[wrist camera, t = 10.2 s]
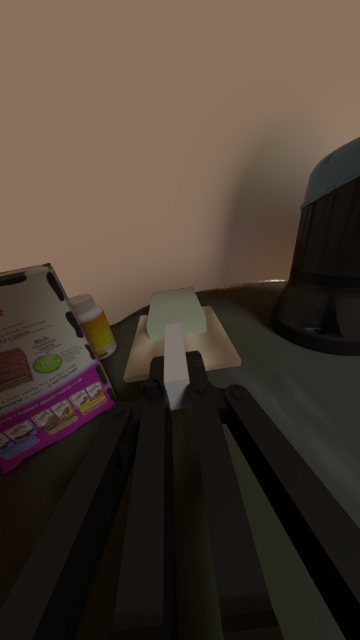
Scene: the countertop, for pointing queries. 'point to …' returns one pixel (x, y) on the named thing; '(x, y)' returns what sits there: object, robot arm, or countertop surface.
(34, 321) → the candy bar box
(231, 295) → the countertop surface
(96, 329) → the supplement bottle
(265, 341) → the countertop surface
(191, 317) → the pale green rectangular block
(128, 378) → the board
